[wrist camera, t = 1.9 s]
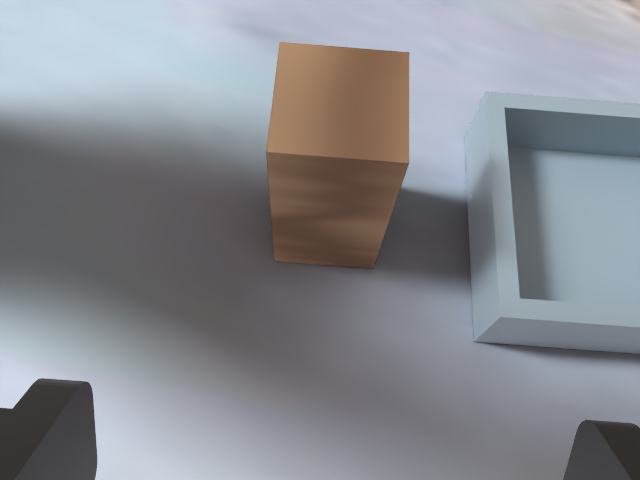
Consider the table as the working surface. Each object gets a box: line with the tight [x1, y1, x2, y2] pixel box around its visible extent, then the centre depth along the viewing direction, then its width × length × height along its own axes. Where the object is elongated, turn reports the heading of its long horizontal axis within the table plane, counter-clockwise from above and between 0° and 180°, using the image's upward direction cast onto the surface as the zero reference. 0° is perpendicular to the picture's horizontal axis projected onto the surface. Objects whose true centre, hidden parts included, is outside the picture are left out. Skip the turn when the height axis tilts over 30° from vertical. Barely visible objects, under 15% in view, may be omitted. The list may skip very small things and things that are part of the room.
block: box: [266, 42, 409, 269], centre depth 24 cm, size 4×4×9 cm
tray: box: [464, 92, 640, 354], centre depth 26 cm, size 11×11×4 cm
